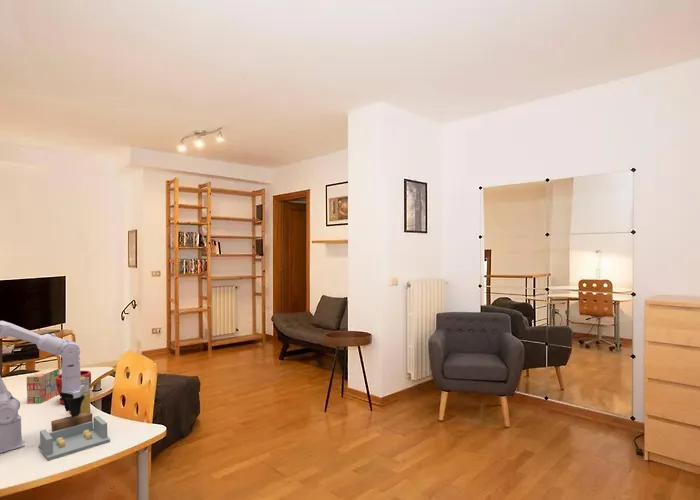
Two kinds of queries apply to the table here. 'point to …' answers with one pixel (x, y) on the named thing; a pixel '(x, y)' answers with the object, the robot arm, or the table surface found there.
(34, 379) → the stack of blocks
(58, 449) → the peg stand
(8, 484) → the table surface
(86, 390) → the candy box
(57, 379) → the plant pot
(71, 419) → the board
